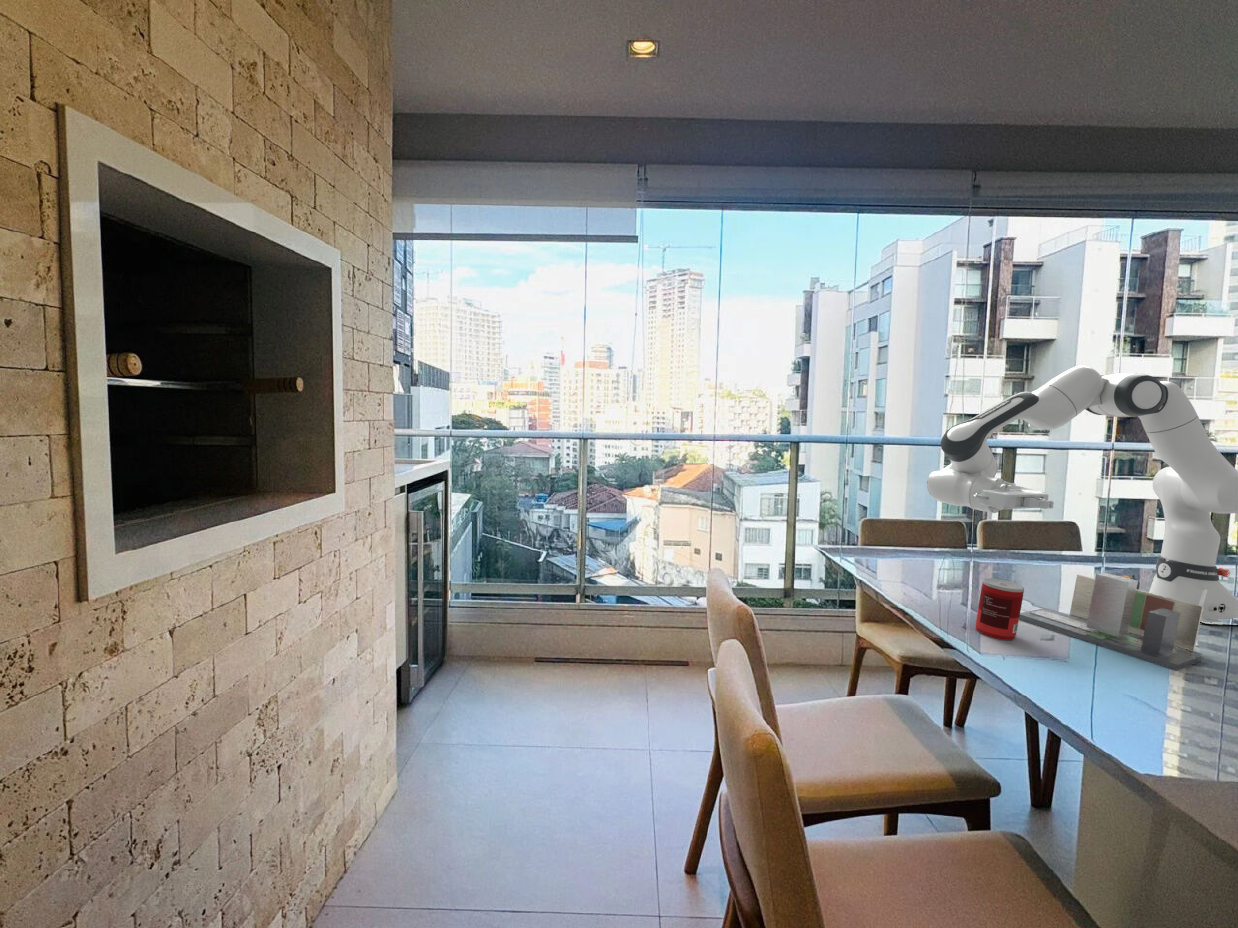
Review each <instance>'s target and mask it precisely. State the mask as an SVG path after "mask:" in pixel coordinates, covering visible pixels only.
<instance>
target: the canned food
mask: <svg viewBox="0 0 1238 928" xmlns="http://www.w3.org/2000/svg"><path fill="white" fill-rule="evenodd" d="M1024 589H1025V588H1024V587H1023V586H1022V584H1018V583H1016V582H1013V581H1009V580H1004V579H999V578H991V577H987V578H983V579H982V583H981V589H980V594H979V601H978V607H977V614H976V619H975V624H974V625H975V630H976V631H977V632H978V633H980V634H981V635H983V636H986V637H989V638H993V639H996V640H1000V641H1001V640H1003V641H1012V640H1014V639H1015V638H1016V636H1017V633H1018V627H1019V621H1020V619H1019V616H1020V613H1021V609H1022V605H1023V598H1024V592H1025V590H1024Z"/></svg>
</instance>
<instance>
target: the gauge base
mask: <svg viewBox="0 0 1238 928" xmlns="http://www.w3.org/2000/svg"><path fill="white" fill-rule="evenodd" d="M1075 578H1076V579H1075V584H1074V588H1073V594H1072V595H1073V596H1072V601H1071V605H1070V606H1071V607H1070V611H1069V614H1067V613H1065V612H1061V611H1058V610H1055V609H1054V610H1053V609H1051V608H1047V607H1044V608H1039V609H1033V610H1028V611H1023V612H1020V616H1019V621H1020V620H1021V621H1023V622H1027V623H1029V624H1032V625H1036V626H1038V627H1041V628H1045V629H1047V630H1051V631H1054V632H1057V633H1059V634H1063V635H1067V636H1070V637H1072V638H1074V639H1075V638H1076V639H1078V640H1081V641H1085V642H1086V643H1087V642H1088V643H1091V644H1093V645H1097V646H1100V647H1103V648H1105V649H1108V650H1112V651H1115V652H1119V653H1122V654H1125V655H1128V656H1131V657H1134V658H1137V659H1140V660H1142V661H1146V662H1149V663H1152V664H1155V665H1159V666H1160V667H1165V668H1168V669H1170V670H1173V671H1179V670H1182V669H1184V668H1187V667H1189V666H1191V665H1195V664H1196V663H1199V662H1201V661H1202V659H1203V654H1199V653H1195V651H1196V644H1197V641H1198V637H1199V631H1200V626H1201V623H1200V622H1201V617H1202V613H1203V608H1204V606H1200V605H1196V604H1192V603H1188V602H1184V601H1181V600H1177V599H1173V598H1169V597H1165V596H1161V595H1157V594H1153V593H1149V591H1145V590H1141V589H1138V590H1137V589H1136V594H1135V599H1134V604H1133V609H1132V614H1131V619H1130V625H1129V630H1128V634H1127V635H1123V636H1120V637H1117V636H1113V635H1110V634H1107V633H1104V632H1101V631H1097V630H1094V629H1091V628H1088V627H1087V621H1088V616H1089V611H1090V605H1091V600H1092V595H1093V589H1094V584H1095V579H1096V578H1093V577H1089V576H1085V575H1082V574H1077V575H1076V577H1075ZM1186 649H1187V650H1186Z"/></svg>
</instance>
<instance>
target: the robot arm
mask: <svg viewBox="0 0 1238 928" xmlns="http://www.w3.org/2000/svg"><path fill="white" fill-rule="evenodd" d="M1084 411H1087V412H1089V413H1090V414H1094V415H1097V416H1107V417H1116V418H1118V417H1119V418H1120V417H1138V419H1139V420H1140V421H1141V425H1142V428H1143V429H1144V432H1145V433H1146V434H1145V435H1146V436H1147V438H1148V439H1149V442H1150V444H1151V446H1152V448H1153V451H1154V453H1155V455H1156V456H1157V457H1158V459H1159V460H1161V461H1162V462H1164V463H1165V464H1167V465H1168V466H1166V467H1163V468H1161V469H1160V470H1159V471H1158V472H1157V473H1155V475H1154V477H1153V479H1152V490H1153V493H1155V495H1156V496H1157V497H1158V499H1159V500H1160V503H1161V507H1162V512H1163V518H1164V534H1163V541H1162V546H1161V552H1160V555H1158V556H1157V560H1156V565H1155V570H1156V573H1155V575H1154V577H1153V579H1152V583H1151V585H1150V588H1149V591H1148V592H1149V593H1153V594H1157V595H1161V596H1165V597H1169V598H1173V599H1177V600H1181V601H1184V602H1188V603H1192V604H1196V605H1200V606H1204V608H1203V613H1202V617H1201V621H1203V622H1210V623H1212V622H1221V621H1219V620H1218V619H1232V618H1238V598H1237V597H1236V596H1235V595H1234V594H1233V593H1232V592H1231V591H1229V590H1228V589H1227V588H1226V587H1225V585H1223V584H1222V583H1221V582H1220V577H1219V576H1222V577H1224V578H1228V577H1229V576H1230V574H1231V571H1230V570H1229V569H1226V568H1223V567H1219V568H1218V567H1217V566H1216V563H1217V558H1218V554H1219V549H1220V544H1221V535H1220V533H1219V531H1217V529H1216V528H1215V527H1214V525H1213V522H1212V519H1211V513H1214V514H1219V515H1220V514H1222V515H1223V514H1227V515H1228V514H1238V469H1236V468H1235V467H1234V466H1233V465H1232V464H1231V463H1230V462H1229V461H1228V460H1227V458H1226V457H1225V456H1224V455H1222V453H1221V452H1220V450H1218V448H1217V447H1216V446H1215V445H1214V443H1213V442H1212V440H1211V439H1210V438H1209V435H1208V434H1207V431H1206V430H1205V428H1204V425H1203V423H1202V422H1201V419H1200V417H1199V415H1198V413H1197V411H1196V409H1195V407H1194V406H1193V404H1192V402H1191V400H1190V399H1189V398H1188V396H1187V395H1186V393H1185V392H1184V391H1183V389H1182V388H1181V387H1180V386H1179V385H1178V384H1176V383H1175V382H1172V381H1169V380H1168V381H1167V380H1166V381H1165V380H1163V381H1161V380H1159V379H1158V378H1156V377H1154V376H1152V375H1149V374H1146V373H1128V372H1124V373H1123V372H1121V373H1114V374H1108V375H1107V374H1105V375H1101V374H1100V373H1099V372H1098V371H1097V370H1095V369H1094V368H1092V367H1090V366H1086V365H1077V366H1074V367H1071V368H1069V369H1068V370H1065V371H1064V372H1061V373H1060V374H1058V375H1056V376H1054V377H1053V378H1051V379H1050V380H1049V381H1047V382H1046V383H1044V384H1043V385H1041V386H1040V387H1038V388H1036V389H1035V390H1033V391H1021V392H1018V393H1015V394H1013V395H1010V396H1009V397H1006V398H1004V399H1003V400H1002V401H999V402H998V403H996V404H994V405H992V406H991V407H989V408H987V409H985V410H984V411H982V412H980V413H978V414H977V415H975V416H974V417H972V418H970V419H967V420H965V421H963V422H959V423H957V424H954V425H952V426H951V427H949V428H948V429H947V430H946V432H945V433H944V434H943V435H942V436H941V441H940V448H941V450H942V452H943V453H944V454H945V455H946V457H947V458H948V460H949V461H950V464H948V465H946V466H945V467H943V468H941V469H939V470H933V471H931V472H930V474H929V475H928V477H927V482H926V484H927V491H928V493H929V496H930V497H931V498H932V499H933V500H935V501H938V502H940V503H943V504H947V505H949V506H950V505H951V506H957V507H968V508H970V509H971V510H976V511H981V512H987V513H991V514H996V513H999V512H1000V511H1002V510H1020V509H1021V510H1023V509H1044V510H1049V509H1053V508H1054V501H1053V500H1049V494H1048V493H1046V492H1043V491H1040V490H1036V489H1032V488H1027V487H1024V486H1020V485H1019V486H1018V485H1017V484H1016V483H1015V482H1009V481H1006V480H1004V479H1003V478H1000V477H995V476H996V474H997V473H998V469H999V468H998V467H999V466H998V464H997V461H996V458H995V456H994V455H993V452H992V451H991V449H990V446H989V445H988V444H989V443H988V442H987V441H988V438H989V437H990V435H992V434H993V433H995V432H996V431H999V430H1000V429H1001V428H1004V427H1006V426H1007V425H1009V424H1011V423H1012V422H1015V421H1017V420H1022V421H1024V422H1025V423H1027V424H1029V425H1031V426H1032V427H1033V428H1036V429H1040V430H1048V431H1050V430H1051V431H1052V430H1056V429H1058V428H1061V427H1063V426H1064V425H1066V424H1068V423H1069V422H1070V421H1071V420H1073V419H1075V417H1077V416H1079V414H1081V413H1083V412H1084Z"/></svg>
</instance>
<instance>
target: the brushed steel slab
mask: <svg viewBox="0 0 1238 928" xmlns="http://www.w3.org/2000/svg"><path fill="white" fill-rule="evenodd" d="M1130 578H1131V576H1130V575H1120V576H1119V575H1116V574H1112V573H1107V572H1104V573H1096V575H1095V578H1094V579H1095V584H1094V589H1093V595H1092V600H1091V605H1090V611H1089V616H1088V620H1087V627H1088V628H1091V629H1094V630H1097V631H1101V632H1104V633H1107V634H1110V635H1113V636H1117V637H1120V636H1123V635H1127V634H1128V633H1129V632H1128V630H1129V625H1130V619H1131V614H1132V609H1133V604H1134V599H1135V594H1136V589H1137V584H1138V581H1139V580H1138V579H1137V580H1138V581H1137V580H1133V579H1130Z"/></svg>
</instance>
